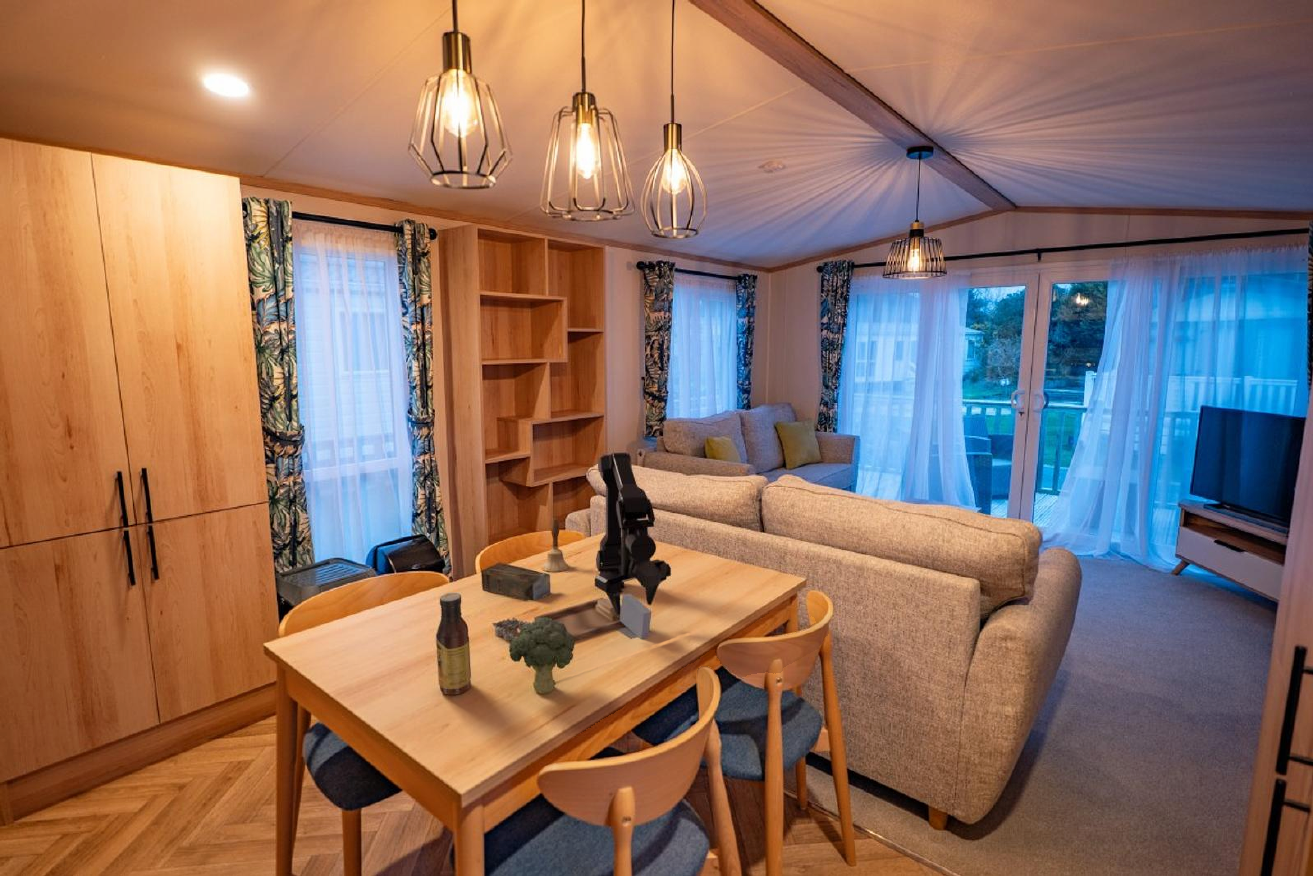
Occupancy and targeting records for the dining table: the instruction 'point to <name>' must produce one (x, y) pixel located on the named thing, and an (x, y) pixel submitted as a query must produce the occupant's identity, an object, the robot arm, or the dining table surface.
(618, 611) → the robot arm
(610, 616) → the offcut lower
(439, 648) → the sauce bottle
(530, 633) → the vegetable
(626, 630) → the mat
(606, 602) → the offcut upper
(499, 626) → the grey lumpy clump
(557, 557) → the hand bell
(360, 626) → the dining table surface
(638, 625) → the board
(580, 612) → the tray
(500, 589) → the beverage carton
